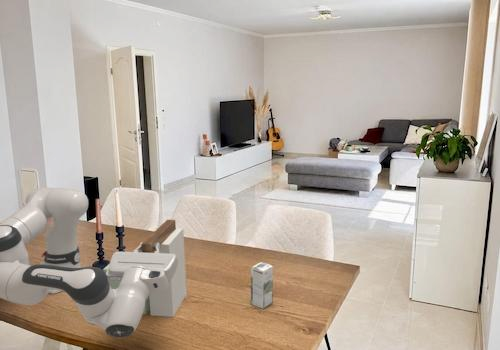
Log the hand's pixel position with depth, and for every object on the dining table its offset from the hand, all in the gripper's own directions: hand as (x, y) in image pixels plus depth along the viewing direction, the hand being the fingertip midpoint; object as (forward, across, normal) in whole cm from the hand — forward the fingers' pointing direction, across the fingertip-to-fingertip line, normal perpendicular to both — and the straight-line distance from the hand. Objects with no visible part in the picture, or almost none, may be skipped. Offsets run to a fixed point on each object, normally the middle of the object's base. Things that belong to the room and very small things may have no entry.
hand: (150, 243), depth 132 cm
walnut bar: (+6, 0, -6) cm, 8 cm away
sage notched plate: (-7, -13, -29) cm, 32 cm away
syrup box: (+1, +33, -33) cm, 47 cm away
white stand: (-3, 0, -31) cm, 31 cm away
